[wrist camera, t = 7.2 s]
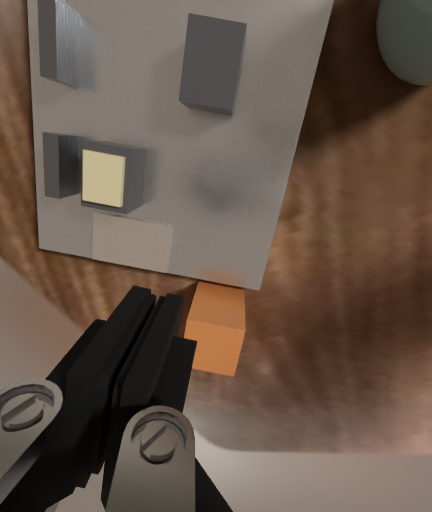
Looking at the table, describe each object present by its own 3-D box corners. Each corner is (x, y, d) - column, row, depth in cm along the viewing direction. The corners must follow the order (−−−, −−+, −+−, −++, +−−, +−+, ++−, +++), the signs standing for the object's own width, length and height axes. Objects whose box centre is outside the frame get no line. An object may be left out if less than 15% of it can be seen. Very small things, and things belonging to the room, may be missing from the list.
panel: (332, -13, 18) (357, -56, 14) (258, 281, 25) (261, 305, 21) (41, -65, 18) (-12, -122, 14) (51, 242, 25) (17, 258, 21)
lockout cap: (244, 289, 25) (245, 330, 19) (235, 328, 26) (233, 376, 21) (198, 281, 25) (186, 319, 19) (192, 320, 27) (179, 366, 21)
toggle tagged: (146, 148, 20) (128, 149, 17) (141, 205, 21) (124, 215, 18) (103, 140, 20) (78, 139, 17) (101, 198, 21) (77, 207, 18)
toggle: (245, 43, 17) (246, 23, 15) (233, 116, 19) (231, 110, 16) (196, 34, 17) (188, 12, 15) (187, 107, 19) (178, 100, 16)
